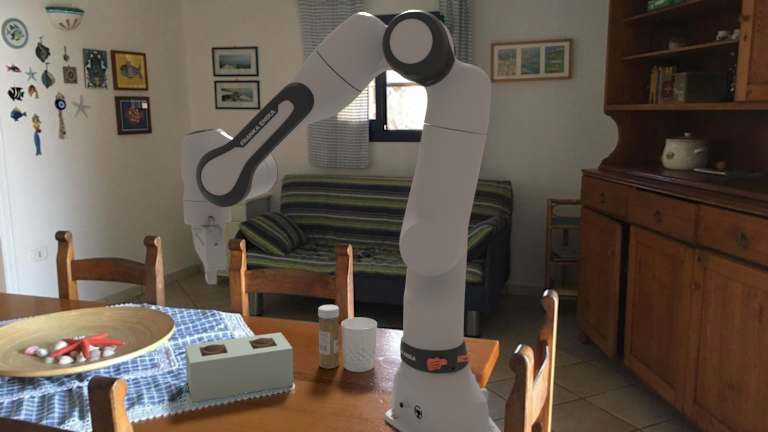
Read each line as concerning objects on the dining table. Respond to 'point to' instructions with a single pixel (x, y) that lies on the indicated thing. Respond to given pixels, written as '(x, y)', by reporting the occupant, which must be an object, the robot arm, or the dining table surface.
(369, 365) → the white cup
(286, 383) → the block
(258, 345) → the peg
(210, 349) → the peg
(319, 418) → the dining table surface
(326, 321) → the sprinkles bottle
